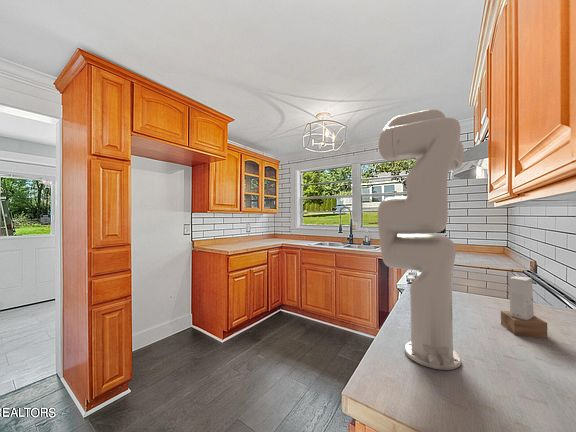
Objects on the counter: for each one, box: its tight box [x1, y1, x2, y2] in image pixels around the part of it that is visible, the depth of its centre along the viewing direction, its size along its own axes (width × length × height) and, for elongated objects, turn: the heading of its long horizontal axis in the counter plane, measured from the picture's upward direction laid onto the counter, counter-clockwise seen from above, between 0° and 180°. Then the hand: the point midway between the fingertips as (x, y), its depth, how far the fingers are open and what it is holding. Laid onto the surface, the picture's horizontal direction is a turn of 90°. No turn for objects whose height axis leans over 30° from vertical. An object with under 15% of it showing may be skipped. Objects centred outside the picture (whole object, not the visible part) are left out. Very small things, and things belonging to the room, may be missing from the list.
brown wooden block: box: [500, 310, 548, 339], centre depth 79 cm, size 8×8×4 cm
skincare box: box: [508, 275, 535, 320], centre depth 80 cm, size 6×4×12 cm
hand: (436, 232), depth 96 cm, fingers open, 9 cm apart
